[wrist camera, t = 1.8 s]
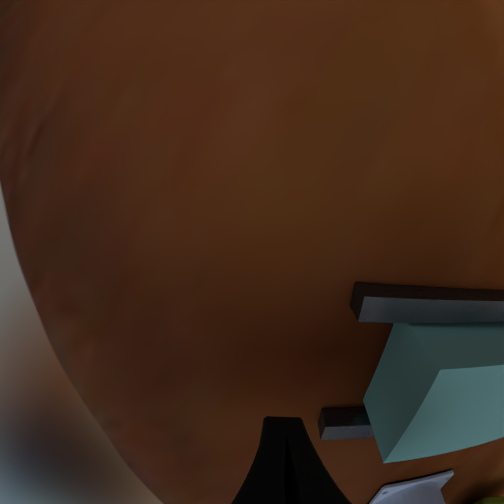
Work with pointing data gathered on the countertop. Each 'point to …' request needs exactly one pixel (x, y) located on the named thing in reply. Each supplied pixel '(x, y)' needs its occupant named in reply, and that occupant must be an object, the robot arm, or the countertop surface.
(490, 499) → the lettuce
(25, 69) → the countertop surface
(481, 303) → the parallel guide rails
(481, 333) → the teal block
